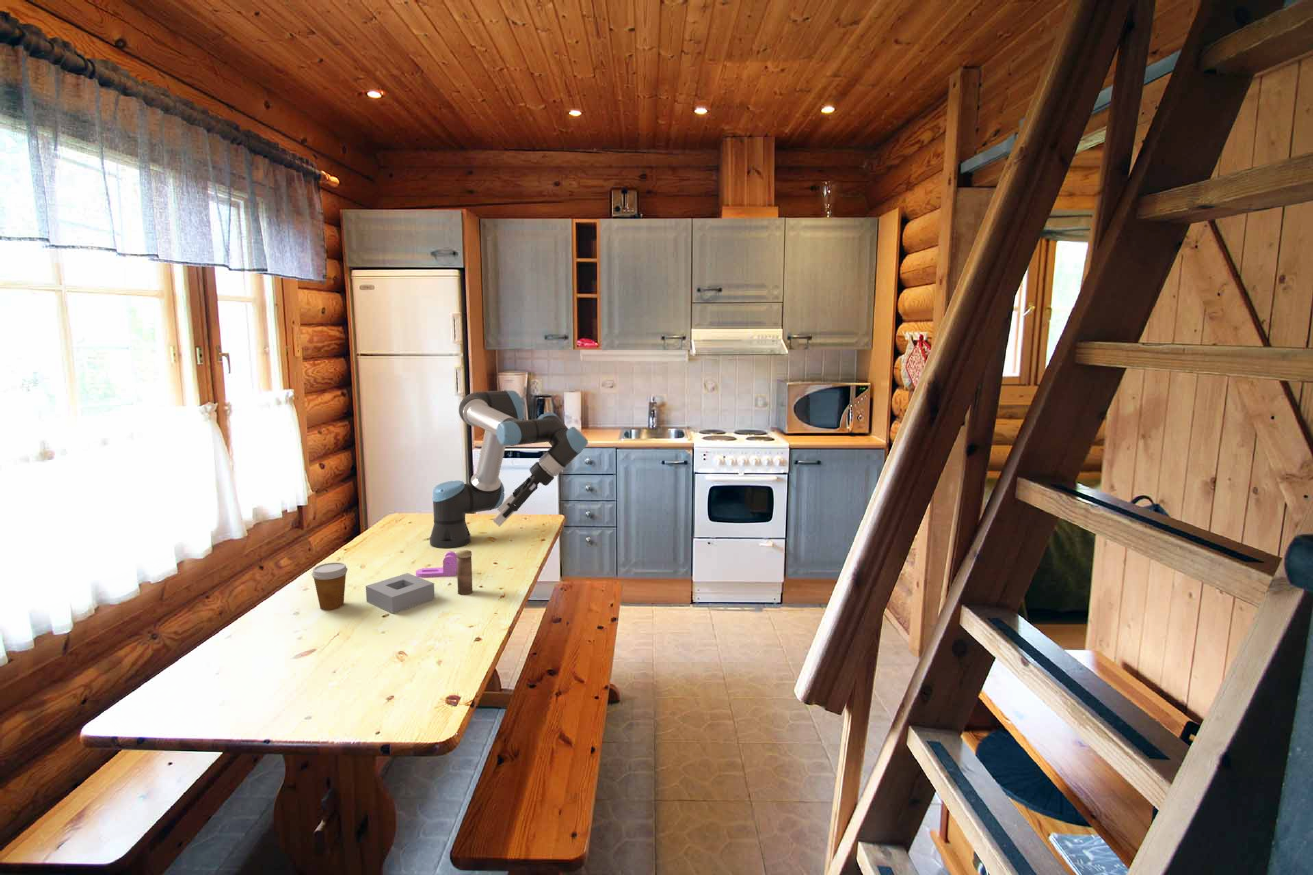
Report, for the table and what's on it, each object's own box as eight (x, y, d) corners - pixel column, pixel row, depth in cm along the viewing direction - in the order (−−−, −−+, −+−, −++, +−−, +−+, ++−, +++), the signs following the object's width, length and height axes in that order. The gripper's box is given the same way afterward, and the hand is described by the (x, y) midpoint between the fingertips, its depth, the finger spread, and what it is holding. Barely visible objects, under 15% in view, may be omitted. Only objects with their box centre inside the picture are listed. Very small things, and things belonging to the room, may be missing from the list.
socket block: (366, 601, 199) (365, 585, 198) (408, 587, 210) (407, 572, 209) (392, 613, 191) (391, 597, 190) (434, 598, 202) (434, 583, 201)
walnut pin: (454, 592, 207) (453, 552, 205) (466, 588, 210) (465, 549, 209) (463, 596, 204) (462, 555, 202) (475, 591, 208) (474, 552, 206)
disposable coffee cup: (356, 602, 199) (354, 564, 197) (331, 614, 190) (329, 574, 188) (331, 597, 202) (329, 560, 200) (306, 609, 193) (303, 570, 191)
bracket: (457, 570, 227) (456, 551, 226) (455, 576, 221) (454, 556, 220) (417, 572, 225) (416, 552, 223) (414, 578, 219) (413, 558, 218)
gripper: (554, 486, 194) (503, 537, 194) (555, 469, 218) (510, 514, 218) (536, 468, 192) (484, 520, 192) (538, 453, 217) (493, 499, 217)
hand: (498, 517), depth 205 cm, fingers open, 13 cm apart
